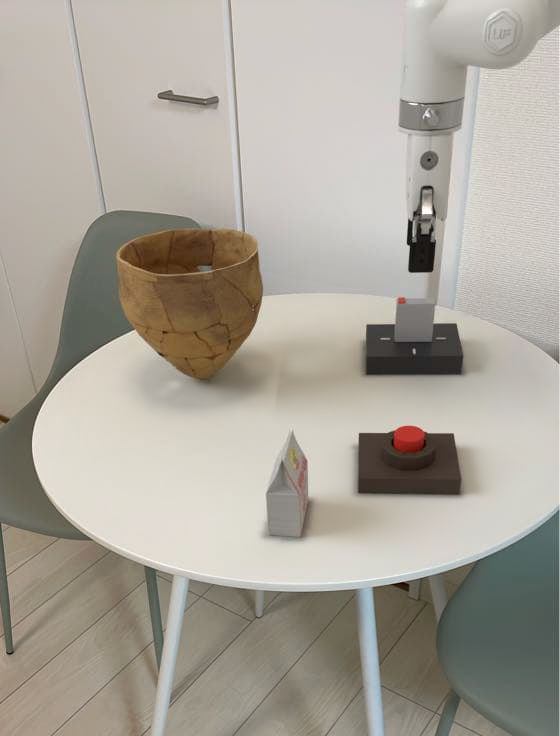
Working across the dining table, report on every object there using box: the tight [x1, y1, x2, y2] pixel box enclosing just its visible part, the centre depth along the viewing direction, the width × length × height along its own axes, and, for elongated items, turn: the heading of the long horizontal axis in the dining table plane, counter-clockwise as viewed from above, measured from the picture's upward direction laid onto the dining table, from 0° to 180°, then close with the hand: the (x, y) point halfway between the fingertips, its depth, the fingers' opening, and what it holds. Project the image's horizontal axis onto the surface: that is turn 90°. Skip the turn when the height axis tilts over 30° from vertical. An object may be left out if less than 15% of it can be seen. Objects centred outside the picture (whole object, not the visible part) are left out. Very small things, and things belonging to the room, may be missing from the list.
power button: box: [394, 425, 425, 452], centre depth 91 cm, size 4×4×2 cm
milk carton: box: [265, 429, 309, 538], centre depth 85 cm, size 4×7×10 cm, turn 169°
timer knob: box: [394, 296, 436, 342], centre depth 113 cm, size 6×2×6 cm, turn 84°
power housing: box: [357, 429, 462, 495], centre depth 93 cm, size 12×10×4 cm
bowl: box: [115, 228, 264, 380], centre depth 109 cm, size 21×20×20 cm
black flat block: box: [365, 322, 464, 376], centre depth 115 cm, size 14×11×3 cm
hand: (419, 257), depth 101 cm, fingers open, 9 cm apart
